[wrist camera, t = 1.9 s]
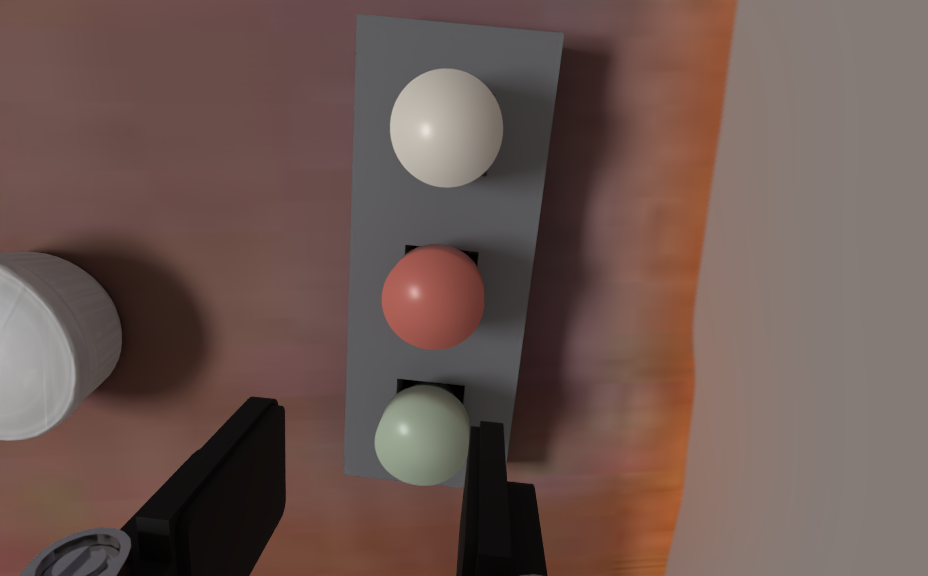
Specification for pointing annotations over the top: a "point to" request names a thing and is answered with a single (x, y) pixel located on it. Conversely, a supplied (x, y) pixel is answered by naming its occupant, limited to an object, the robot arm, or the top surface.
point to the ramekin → (51, 341)
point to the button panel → (444, 220)
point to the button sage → (423, 434)
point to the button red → (434, 297)
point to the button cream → (446, 128)
